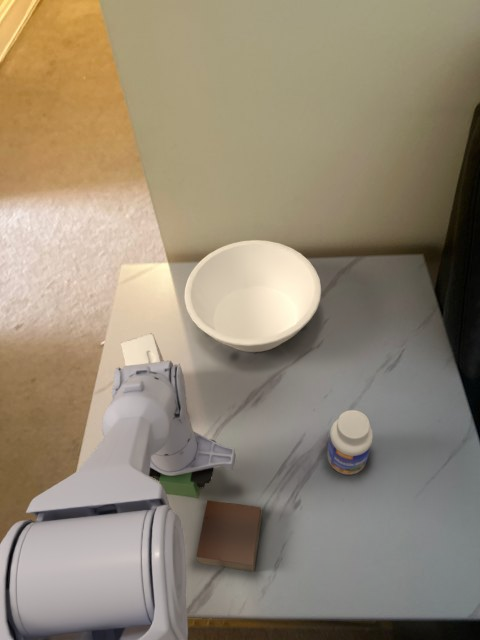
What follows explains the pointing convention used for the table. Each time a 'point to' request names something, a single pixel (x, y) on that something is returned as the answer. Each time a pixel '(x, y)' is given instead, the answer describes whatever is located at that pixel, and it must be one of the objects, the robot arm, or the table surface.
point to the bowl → (253, 294)
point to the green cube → (179, 485)
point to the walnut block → (229, 535)
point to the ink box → (141, 350)
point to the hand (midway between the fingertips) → (184, 478)
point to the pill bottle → (349, 442)
